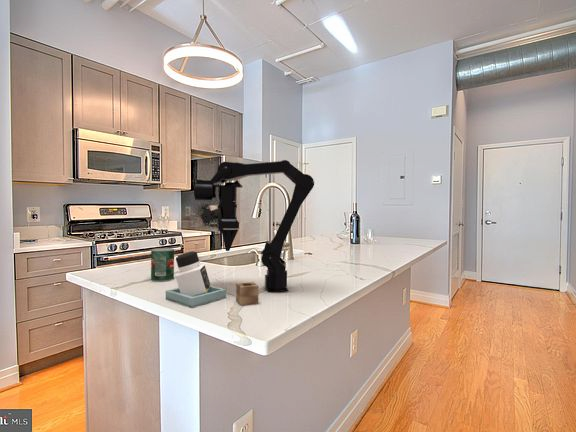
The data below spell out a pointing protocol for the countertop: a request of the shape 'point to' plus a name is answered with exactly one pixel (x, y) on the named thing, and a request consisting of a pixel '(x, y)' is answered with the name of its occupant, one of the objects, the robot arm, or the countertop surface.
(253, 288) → the brown open box
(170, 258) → the canned tomato
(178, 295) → the tray
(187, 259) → the medicine bottle
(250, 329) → the countertop surface
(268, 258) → the robot arm
